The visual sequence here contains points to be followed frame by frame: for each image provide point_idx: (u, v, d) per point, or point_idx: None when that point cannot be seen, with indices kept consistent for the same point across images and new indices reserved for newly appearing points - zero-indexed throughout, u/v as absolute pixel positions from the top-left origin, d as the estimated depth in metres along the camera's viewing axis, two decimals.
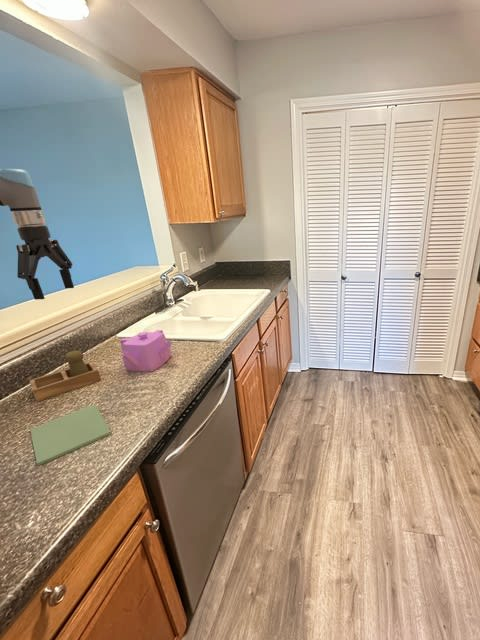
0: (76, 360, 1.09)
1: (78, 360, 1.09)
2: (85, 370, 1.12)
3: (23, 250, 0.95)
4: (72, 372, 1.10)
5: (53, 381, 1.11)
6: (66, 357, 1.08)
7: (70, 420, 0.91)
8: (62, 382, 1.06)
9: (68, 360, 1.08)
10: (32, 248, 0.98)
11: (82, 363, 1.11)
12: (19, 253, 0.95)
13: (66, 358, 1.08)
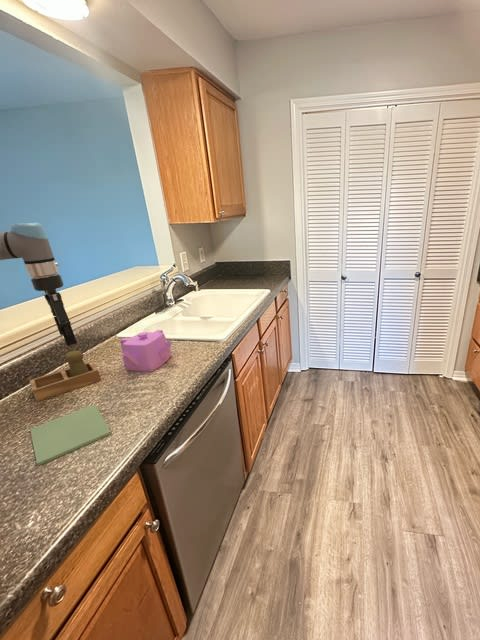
0: (76, 360, 1.09)
1: (78, 360, 1.09)
2: (85, 370, 1.12)
3: (58, 299, 0.98)
4: (72, 372, 1.10)
5: (53, 381, 1.11)
6: (66, 357, 1.08)
7: (70, 420, 0.91)
8: (62, 382, 1.06)
9: (68, 360, 1.08)
10: None
11: (82, 363, 1.11)
12: (53, 302, 0.97)
13: (66, 358, 1.08)
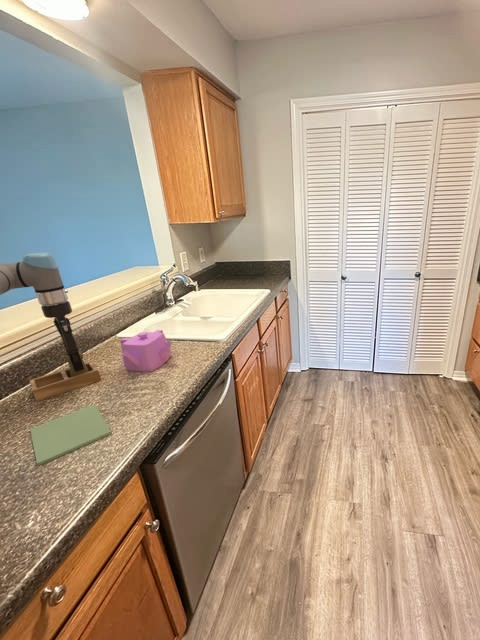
0: None
1: None
2: (85, 370, 1.12)
3: (68, 330, 1.02)
4: (72, 372, 1.10)
5: (53, 381, 1.11)
6: (66, 357, 1.08)
7: (70, 420, 0.91)
8: (62, 382, 1.06)
9: (68, 360, 1.08)
10: (66, 323, 1.03)
11: (82, 363, 1.11)
12: (64, 333, 1.02)
13: (66, 358, 1.08)
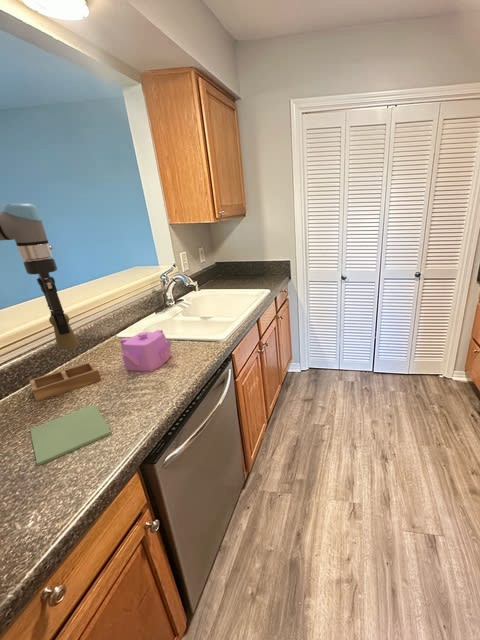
0: None
1: None
2: (71, 334, 1.06)
3: (53, 288, 0.96)
4: (57, 336, 1.04)
5: (53, 381, 1.11)
6: (50, 319, 1.02)
7: (70, 420, 0.91)
8: (62, 382, 1.06)
9: (53, 322, 1.02)
10: (51, 281, 0.97)
11: (68, 326, 1.05)
12: (48, 291, 0.95)
13: (50, 320, 1.02)
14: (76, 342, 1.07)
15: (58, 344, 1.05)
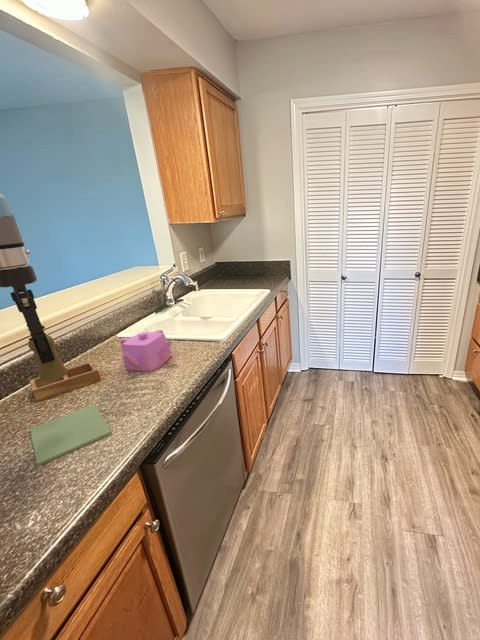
0: None
1: None
2: (57, 362, 0.83)
3: (30, 305, 0.73)
4: (38, 364, 0.81)
5: (53, 381, 1.11)
6: (30, 344, 0.79)
7: (70, 420, 0.91)
8: (62, 382, 1.06)
9: (32, 348, 0.79)
10: (28, 295, 0.74)
11: (53, 352, 0.82)
12: (24, 309, 0.73)
13: (30, 345, 0.79)
14: (64, 371, 0.85)
15: (40, 375, 0.82)
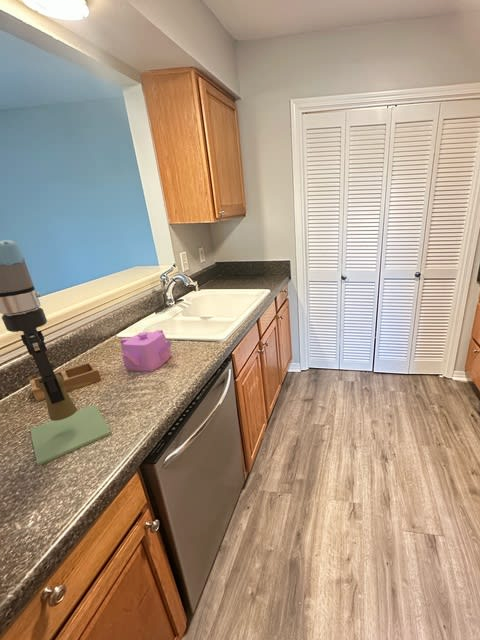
0: None
1: None
2: (67, 400, 0.83)
3: (41, 349, 0.73)
4: (48, 404, 0.81)
5: None
6: (40, 384, 0.79)
7: (70, 420, 0.91)
8: None
9: (42, 388, 0.79)
10: (38, 339, 0.74)
11: (62, 391, 0.82)
12: (34, 354, 0.73)
13: (40, 386, 0.79)
14: (73, 409, 0.85)
15: (50, 414, 0.82)
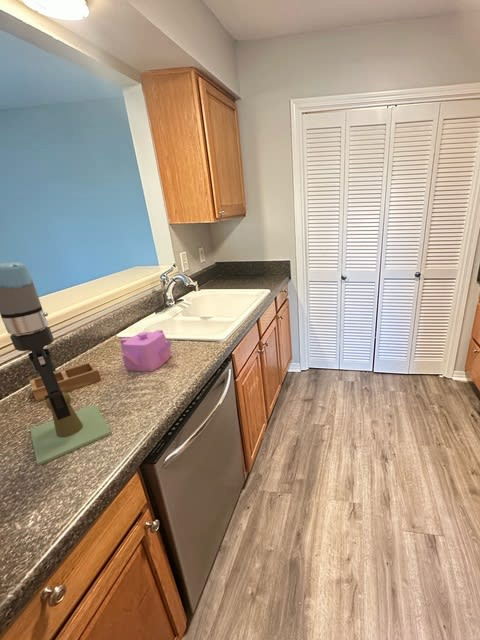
0: None
1: None
2: (73, 417, 0.85)
3: (46, 362, 0.74)
4: (55, 421, 0.83)
5: None
6: (47, 403, 0.81)
7: None
8: (62, 382, 1.06)
9: (50, 407, 0.81)
10: None
11: (69, 409, 0.84)
12: (40, 368, 0.73)
13: (47, 404, 0.81)
14: (79, 426, 0.87)
15: (57, 431, 0.84)
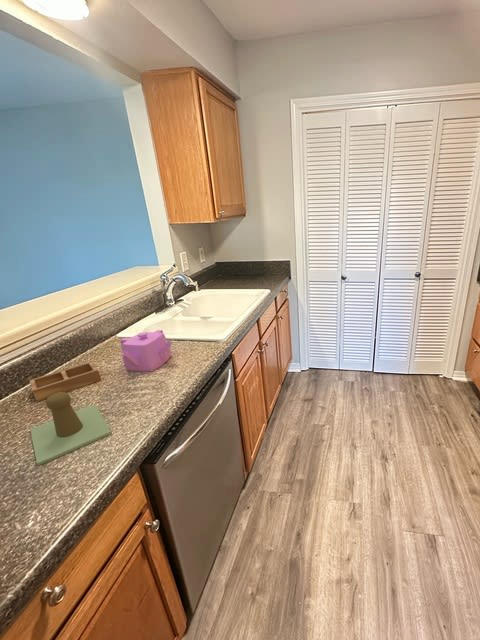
0: (61, 406, 0.82)
1: (63, 406, 0.82)
2: (73, 417, 0.85)
3: None
4: (55, 421, 0.83)
5: (53, 381, 1.11)
6: (47, 403, 0.81)
7: None
8: (62, 382, 1.06)
9: (50, 407, 0.81)
10: None
11: (69, 409, 0.84)
12: None
13: (47, 404, 0.81)
14: (79, 426, 0.87)
15: (57, 431, 0.84)
